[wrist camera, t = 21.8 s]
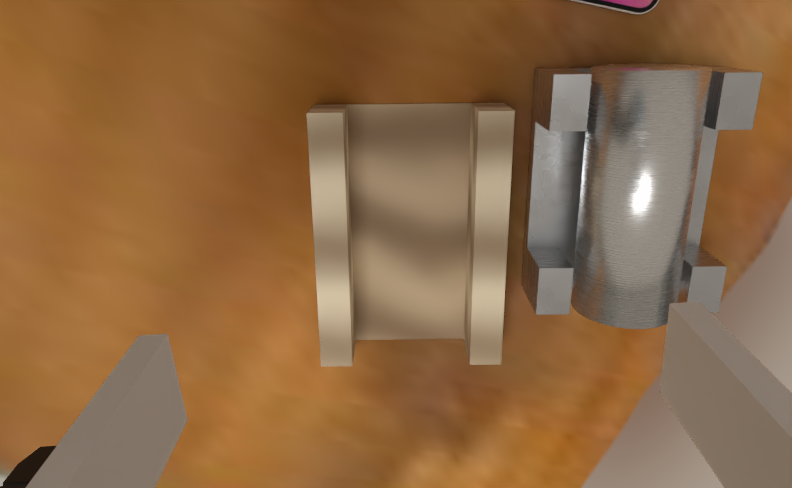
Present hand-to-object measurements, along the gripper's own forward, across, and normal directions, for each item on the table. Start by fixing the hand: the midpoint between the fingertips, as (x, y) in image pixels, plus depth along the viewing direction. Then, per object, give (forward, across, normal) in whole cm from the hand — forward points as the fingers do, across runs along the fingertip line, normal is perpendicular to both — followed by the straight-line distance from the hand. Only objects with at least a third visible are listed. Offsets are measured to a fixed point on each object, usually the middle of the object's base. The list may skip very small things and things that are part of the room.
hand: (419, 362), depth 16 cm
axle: (+23, +14, -2) cm, 27 cm away
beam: (+24, 0, -5) cm, 24 cm away
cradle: (+24, +13, -3) cm, 27 cm away
